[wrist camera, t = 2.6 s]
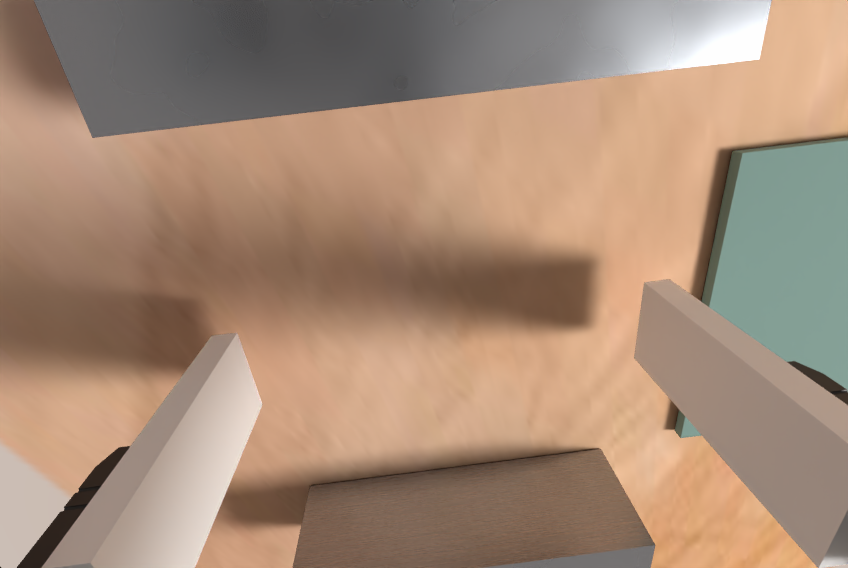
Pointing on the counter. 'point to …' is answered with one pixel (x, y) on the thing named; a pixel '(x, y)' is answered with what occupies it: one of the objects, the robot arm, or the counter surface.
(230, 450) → the robot arm
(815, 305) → the mat
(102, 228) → the counter surface
